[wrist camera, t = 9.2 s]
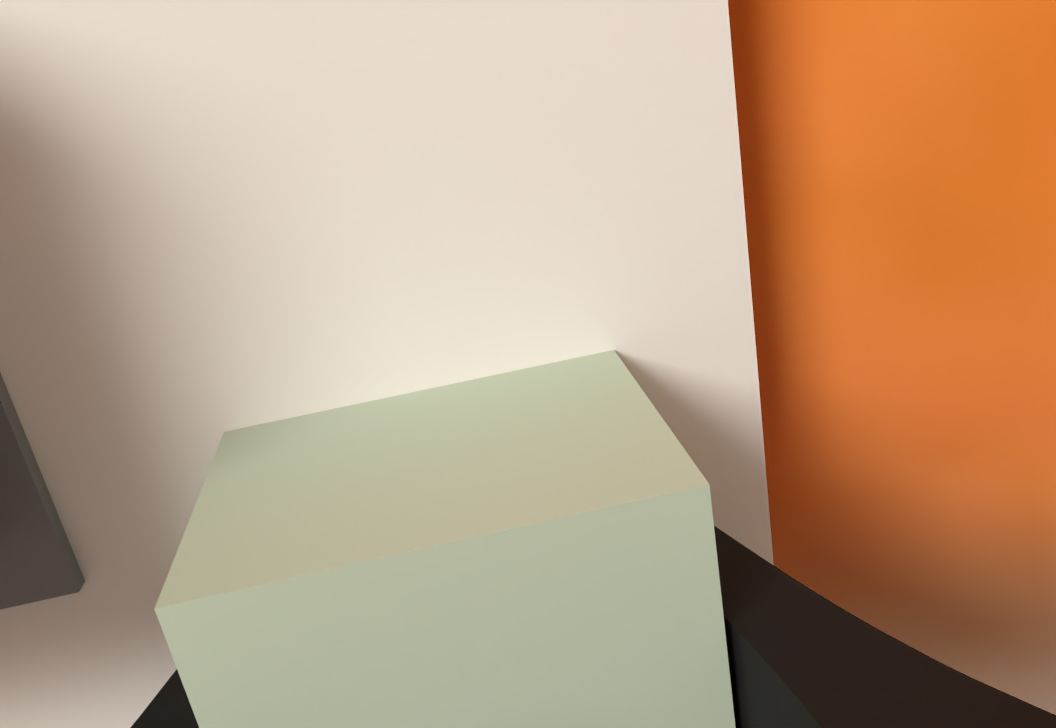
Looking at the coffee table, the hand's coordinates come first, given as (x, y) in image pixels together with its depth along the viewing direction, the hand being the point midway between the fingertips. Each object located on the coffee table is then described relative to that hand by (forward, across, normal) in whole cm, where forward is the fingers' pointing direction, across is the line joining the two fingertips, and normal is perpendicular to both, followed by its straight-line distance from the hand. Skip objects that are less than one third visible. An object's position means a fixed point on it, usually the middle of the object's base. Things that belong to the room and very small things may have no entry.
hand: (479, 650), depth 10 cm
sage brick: (+1, 0, 0) cm, 1 cm away
